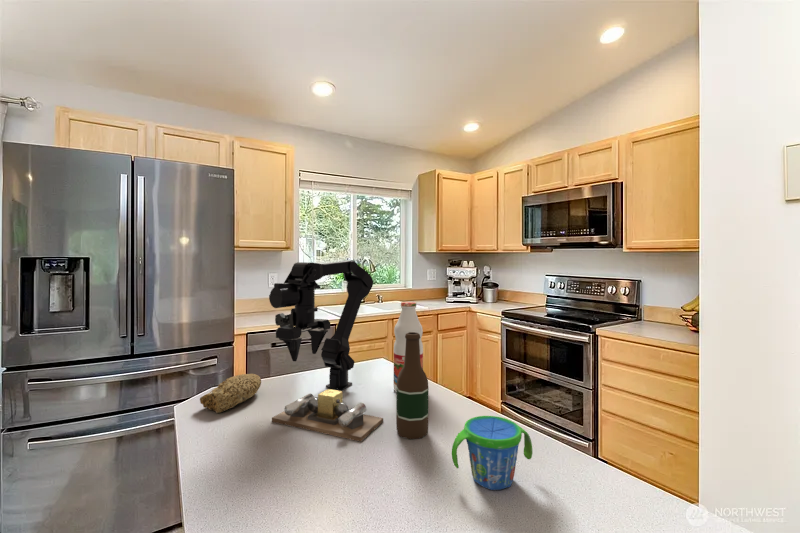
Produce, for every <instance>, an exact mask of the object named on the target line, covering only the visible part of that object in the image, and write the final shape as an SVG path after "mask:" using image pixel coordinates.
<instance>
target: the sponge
mask: <svg viewBox="0 0 800 533" xmlns="http://www.w3.org/2000/svg"><path fill="white" fill-rule="evenodd" d="M261 385H262V379H261V377H260V375H258V374H255V373H246V374H244V373H242V374H237V375H234V376H231V377H228V378H226V379H225V380H223V381H222V382H220V383H219V384H218V385H217V387H214V388H213V389H212V390H211V391H210V392H207V393H206V394H204V395H201V397H199V403H200V404H202V405H203V408H207V409H208V410H210V411H213V412H214V411H215V413H216V414H220V413H223V412H225V411H227V410H229V409H232V408H235V407H236V406H237V405H238V404H241V403H243V402H246V401H248V400H249V399H251V398H252V397H253V396H255V394H256V393H258V391H259V389H260V388H261Z"/></svg>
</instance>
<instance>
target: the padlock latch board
mask: <svg viewBox="0 0 800 533" xmlns="http://www.w3.org/2000/svg"><path fill="white" fill-rule="evenodd" d="M350 409H351V408H349V410H350ZM338 419H339V417H338V418H336V419H335V420H331V419H326V418H322V417H318V412H316V413H313V412H311V411H310V410H309V408H308V403H307V404H305V405H304V406H302V407H300V410H299V411H297V412H296V413H294V414H292V415H290V416H288V415H287V414H286V413H285V411H281V412H280V413H278V414H276V415H274V416H273V417H271V422H272V423H277V424H281V425H285V426H290V427H293V428H298V429H303V430H307V431H311V432H317V433H321V434H325V435H330V436H334V437H338V438H343V439H347V440H353V441H356V442H362V441H364V440H365V438H367V437H369V435H370V434H371V433H373V431H374V430H376V429H377V428H378V427H379V426H380V425H382V423H384V417H380V416H376V415H375V416H374V415H370V414H366V413H365V414H364V413H363V414H361V413H360V414H359V415H358V416H356V417H355V418H354V419H353V420H352V422H351V423H350V424H348V425H347V426H346V427H342V426H340V425H339V423H338Z"/></svg>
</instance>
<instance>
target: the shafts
mask: <svg viewBox="0 0 800 533" xmlns="http://www.w3.org/2000/svg"><path fill="white" fill-rule="evenodd" d="M307 403H308V408H309V410H310V411H311V412H313V413H316V412H318V397H315V396H314V394H312V393H307V394H306V395H304V396H302V397H299V398H298V399H296V400H294V401H292V402H290V403H288V404H287V405H285V406H284V408H283V409H284V411H285V413H286V414H287V415H288V416H290V415H292V414H294V413H296V412H297V411H299V410H300V407H302V406H304V405H305V404H307ZM349 409H350V410H349ZM334 411H335V414H336V415H337V417H339V419H338V423H339V425H340V426H342V427H346V426H347V425H348V424H350V423H351V422H352V420H353V419H354V418H355V417H356V416H358V415H359V414H360V413H361V414H364V413H365V412H366V411H367V406H366V404H365V403H363V402H358V403H357V404H356V405H354V406H353V407H352V408H349V406H348V405H347V403H346V402H344V401H343V402H340V403H338V404H337V405H336V406H335V409H334Z"/></svg>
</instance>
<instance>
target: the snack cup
mask: <svg viewBox="0 0 800 533" xmlns="http://www.w3.org/2000/svg"><path fill="white" fill-rule="evenodd" d="M522 434H524V436H522ZM522 437H523V440H524V441H523V446H524V447H523V456H524V457H525V459H526V460H532V458H533V444H532V438H531V437H530V434H529V433H528V431H526V430H525V429H524V428H522V427H521V426H520V425H518V424H517V423H515V421H512V420H510V419H508V418H505V417H500V416H494V415H479V416H475V417H471V418H469V419H467V420H466V422H465V423H464V427H463V429H462V430H460V431H459V432H458V433H457V435H456V437H454V441H453V443H452V446H451V447H452V448H451V458H452V459H451V460H452V463H453V464H454V467H456V469H460V468H459V460H458V459H459V458H458V452H457V451H458V448H459V446H460V445H461V444H462V443H463V441H464V440H466V444H467V449H468V457H469V464H470V471H471V475H472V478H473V481H474V482H475V483H477V484H478V485H479V486H481V487H483V488H485V489H489V490H491V491H494V490H495V491H499V490H504V489H507V488H510V487H511V486H512V484H513V481H514V477H515V472H516V467H517V466H516V464H517V459H518V453H519V446H520V444H521V440H522Z"/></svg>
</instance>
